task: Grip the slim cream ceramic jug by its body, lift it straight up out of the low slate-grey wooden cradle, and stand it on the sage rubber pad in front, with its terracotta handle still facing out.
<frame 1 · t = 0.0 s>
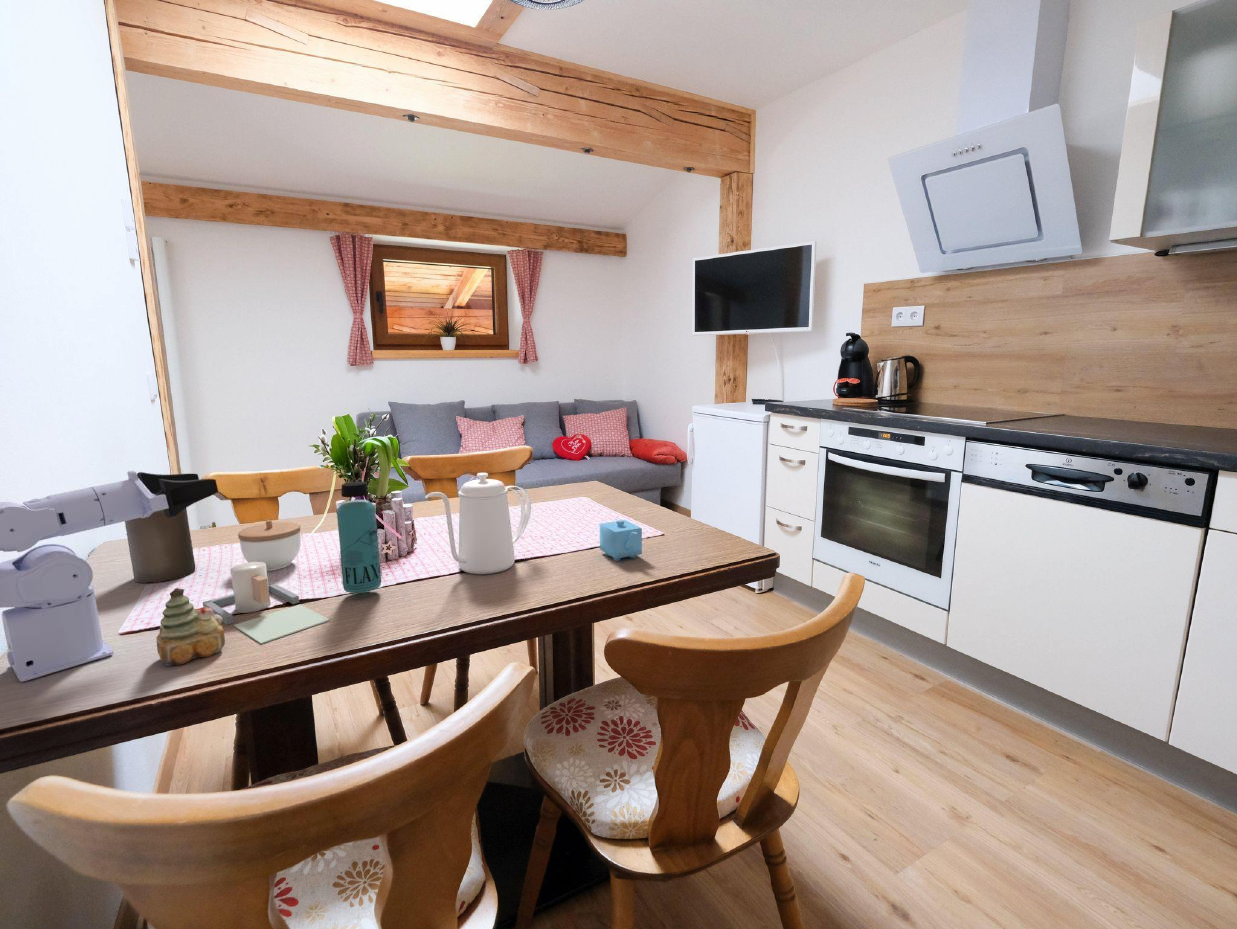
hand: (207, 482, 95), 22 cm above the table, tool horizontal, fingers open, 7 cm apart
teapot: (622, 558, 124), on the table
cradle: (253, 606, 101), on the table
ornament: (194, 655, 85), on the table
lidded jar: (274, 567, 121), on the table
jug: (254, 588, 99), in the cradle
beverage bottle: (363, 595, 106), on the table
coffeepot: (485, 568, 119), on the table
pad: (282, 623, 94), on the table
pillar candle: (165, 575, 117), on the table
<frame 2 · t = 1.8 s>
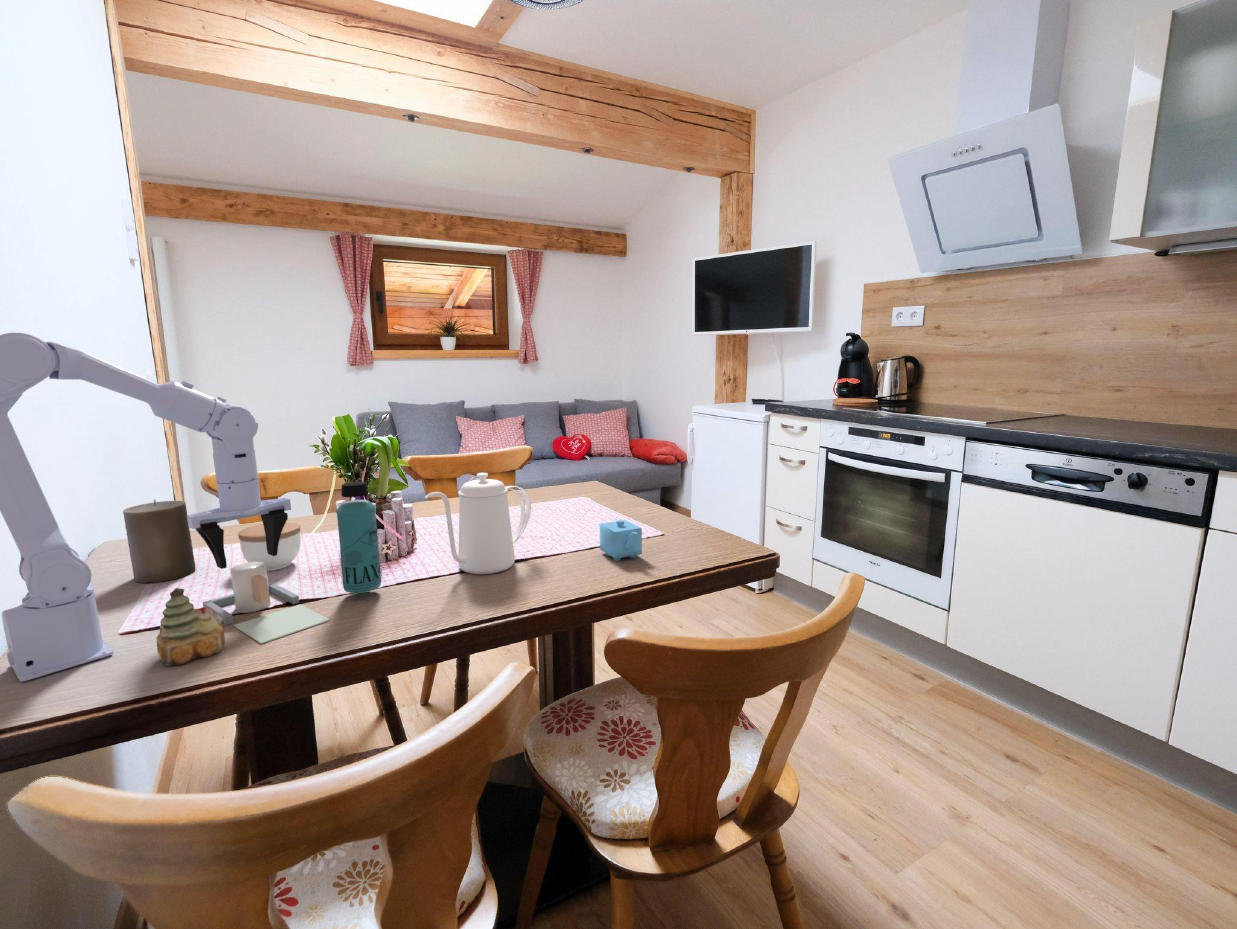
hand: (247, 560, 100), 8 cm above the table, tool pointing down, fingers open, 7 cm apart
nothing on the table moved.
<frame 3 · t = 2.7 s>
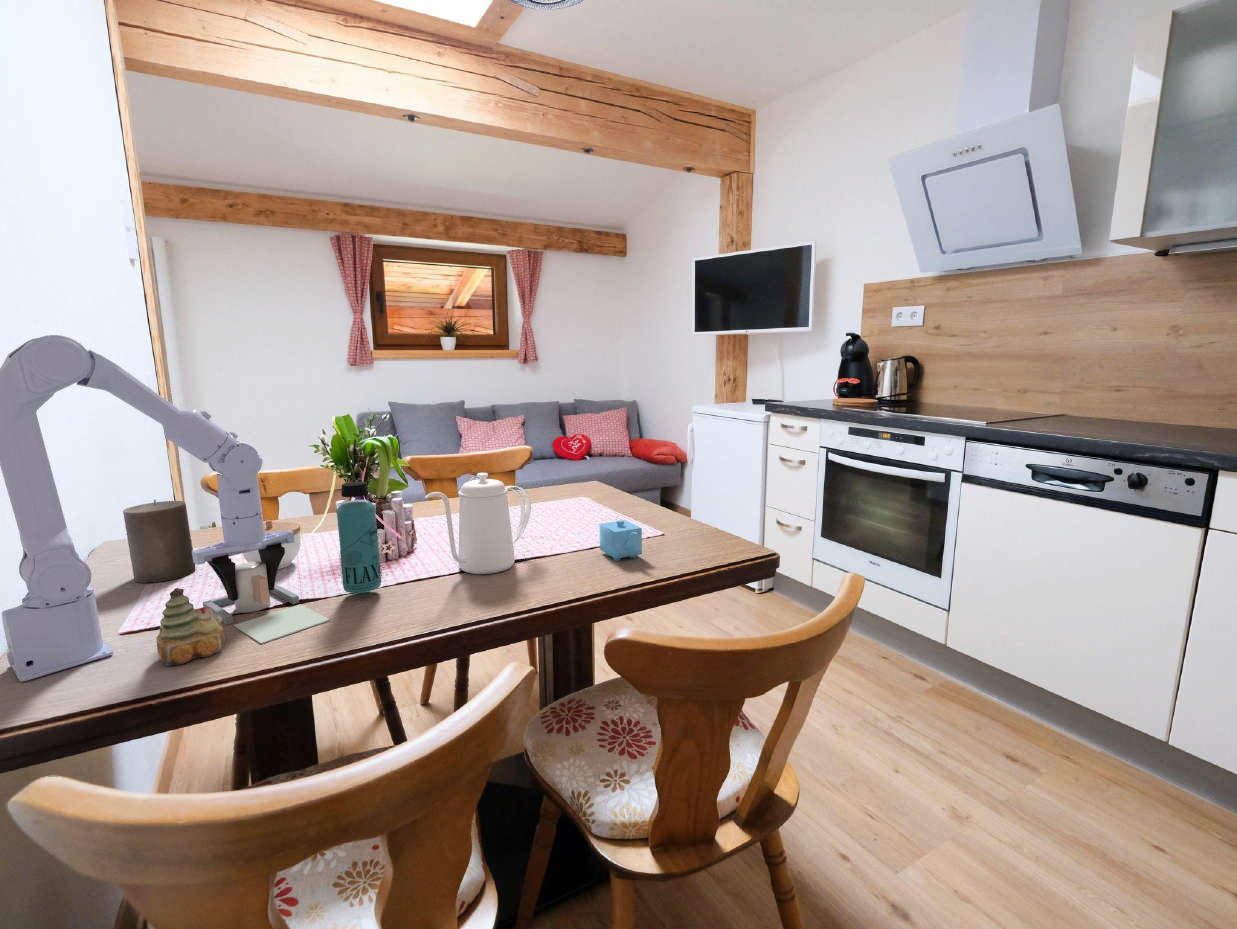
hand: (251, 593, 101), 2 cm above the table, tool pointing down, fingers closed on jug, 5 cm apart
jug: (254, 588, 99), in the cradle, touching gripper
everything else where it was.
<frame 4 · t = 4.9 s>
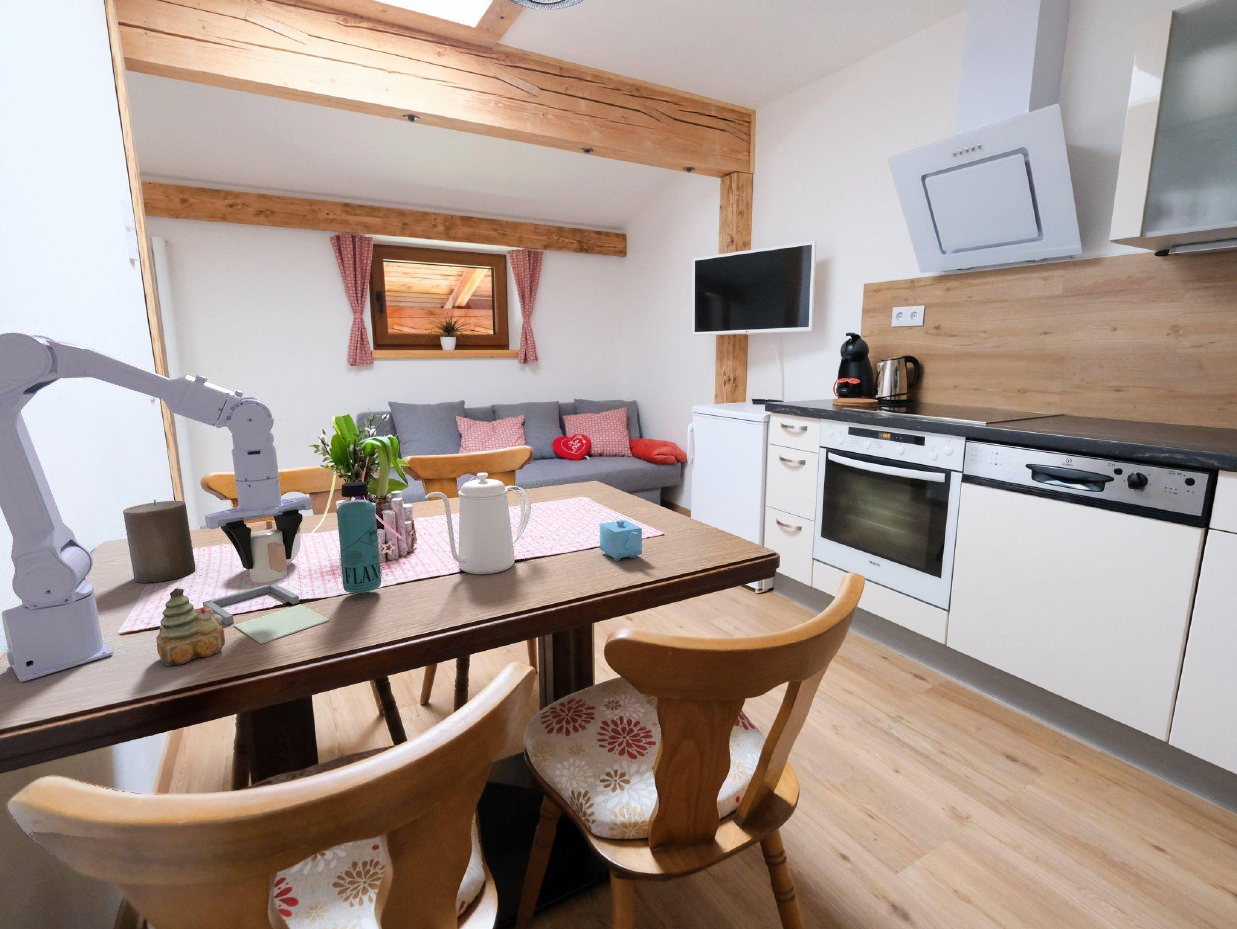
hand: (267, 562, 95), 9 cm above the table, tool pointing down, fingers closed on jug, 5 cm apart
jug: (270, 557, 94), point 10 cm above the table, touching gripper
everything else where it was.
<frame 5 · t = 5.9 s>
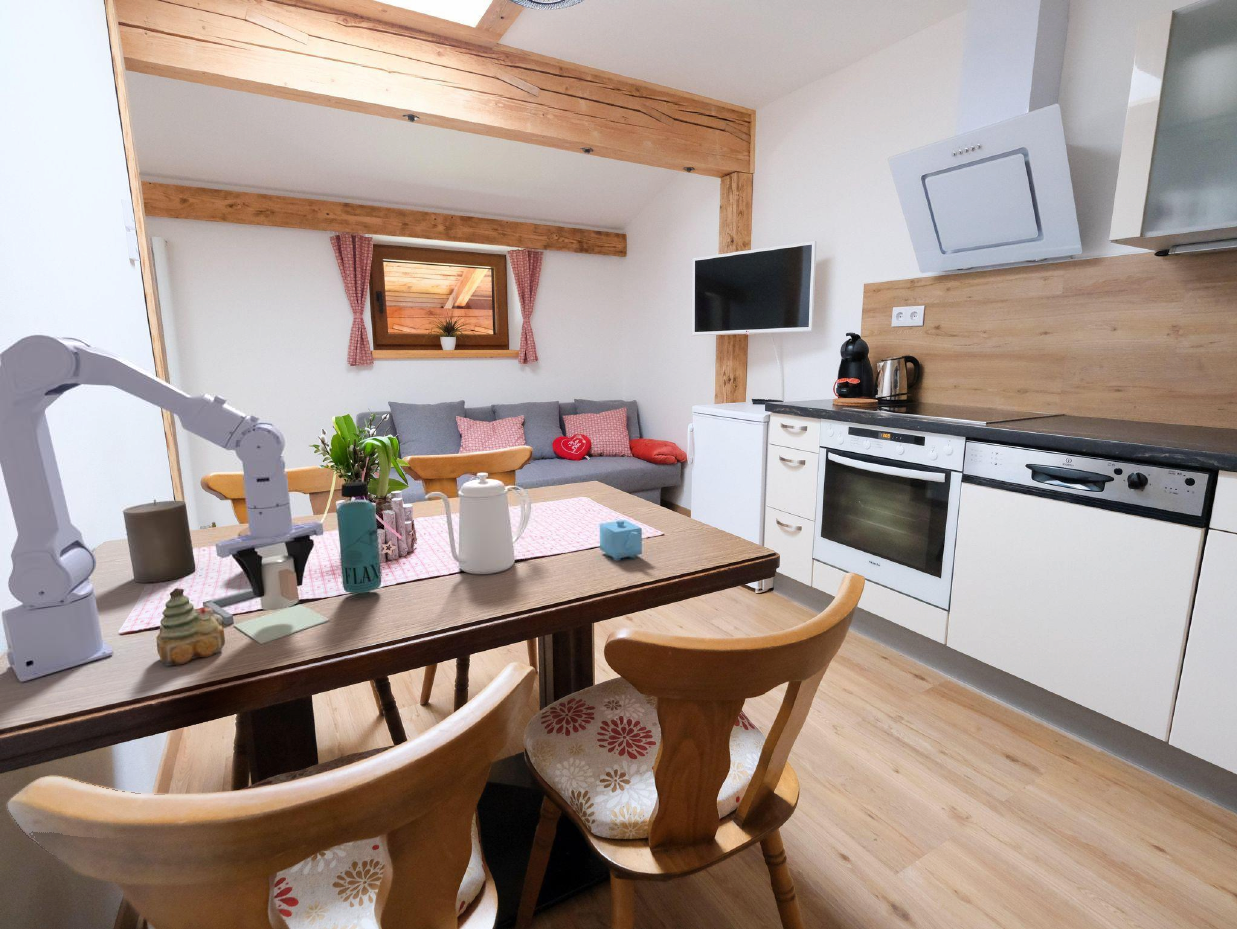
hand: (278, 589, 93), 6 cm above the table, tool pointing down, fingers closed on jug, 5 cm apart
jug: (281, 584, 92), point 7 cm above the table, touching gripper
everything else where it was.
when the fingers open (3 cm above the table, at t = 6.8 s): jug stays where it is, resting on pad.
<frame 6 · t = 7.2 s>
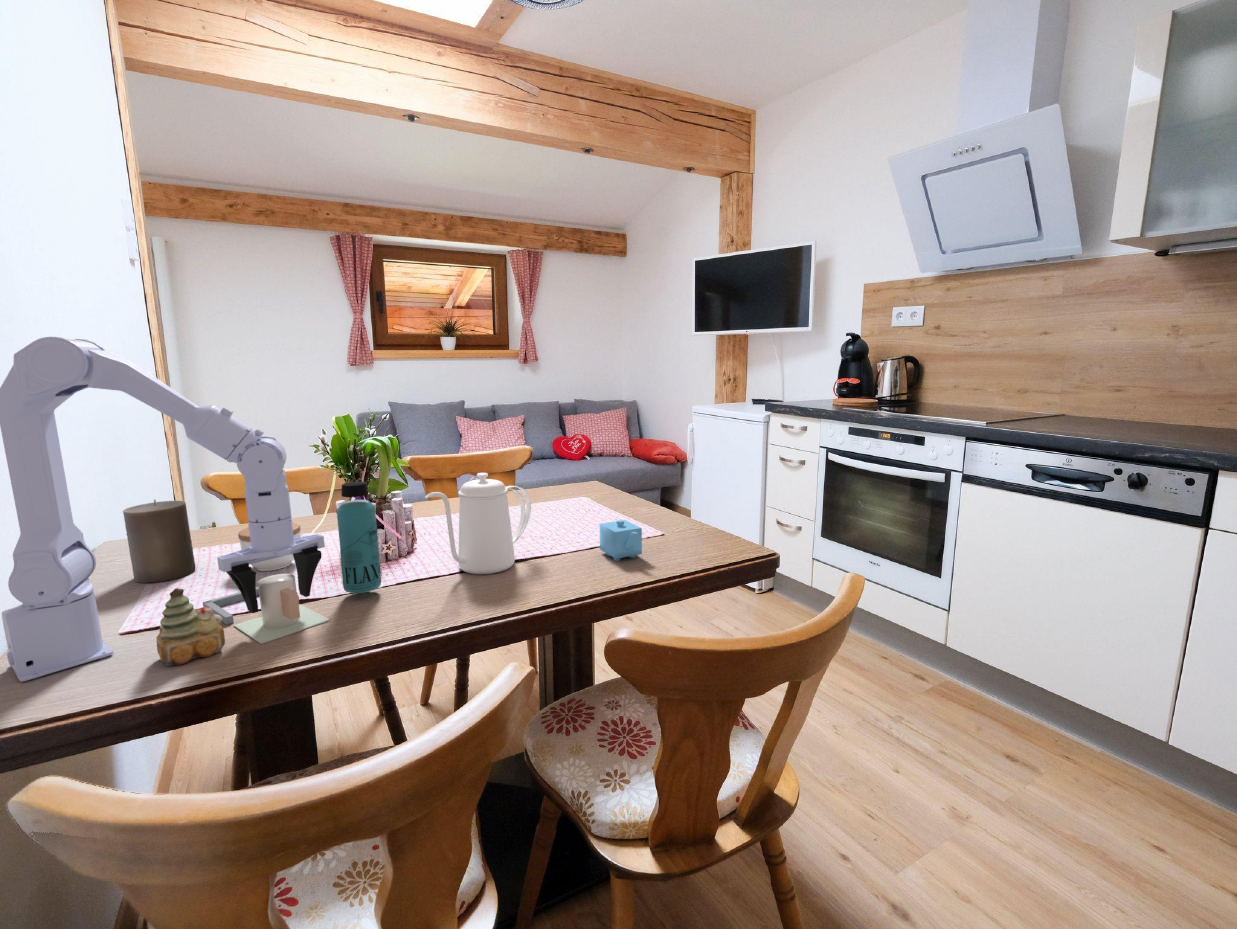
hand: (279, 602, 94), 3 cm above the table, tool pointing down, fingers open, 7 cm apart
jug: (283, 603, 93), resting on pad
everything else where it was.
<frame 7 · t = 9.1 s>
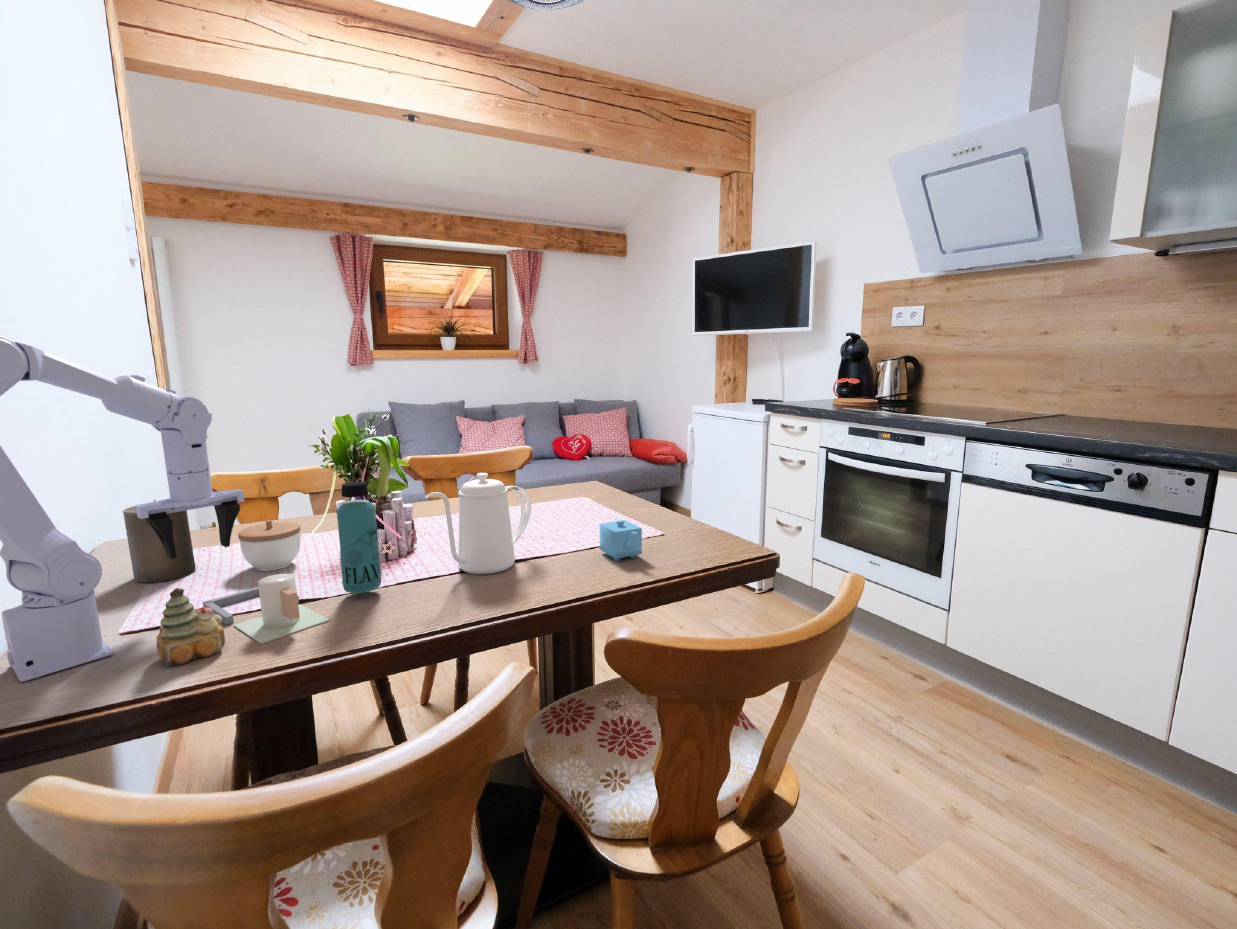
hand: (199, 551, 100), 9 cm above the table, tool pointing down, fingers open, 7 cm apart
nothing on the table moved.
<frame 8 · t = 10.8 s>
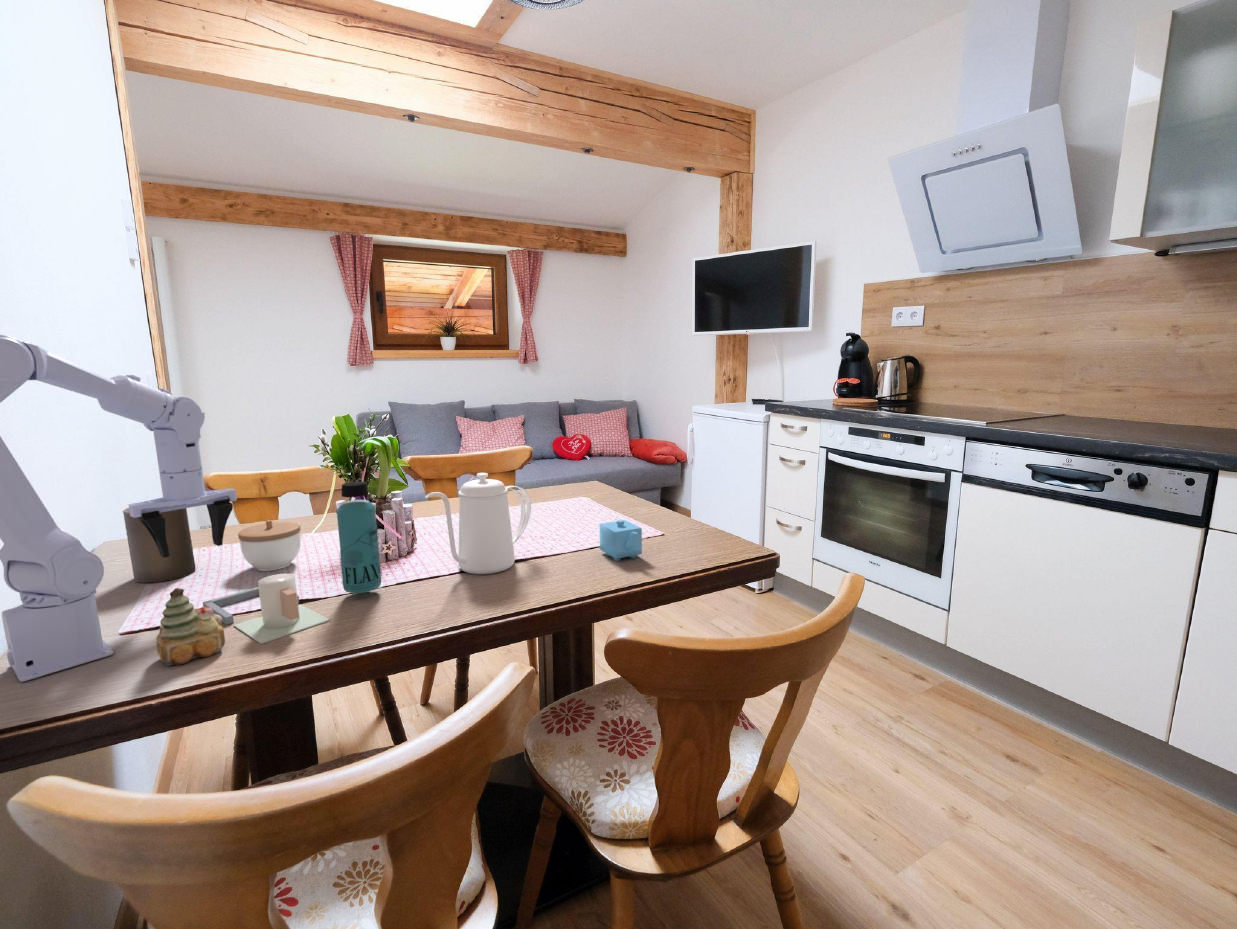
hand: (192, 550, 101), 9 cm above the table, tool pointing down, fingers open, 7 cm apart
nothing on the table moved.
at the end: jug 0.1 cm off-centre on the pad, point 3.7 cm above the pad's base; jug tilted 1°; the gripper is holding nothing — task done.
